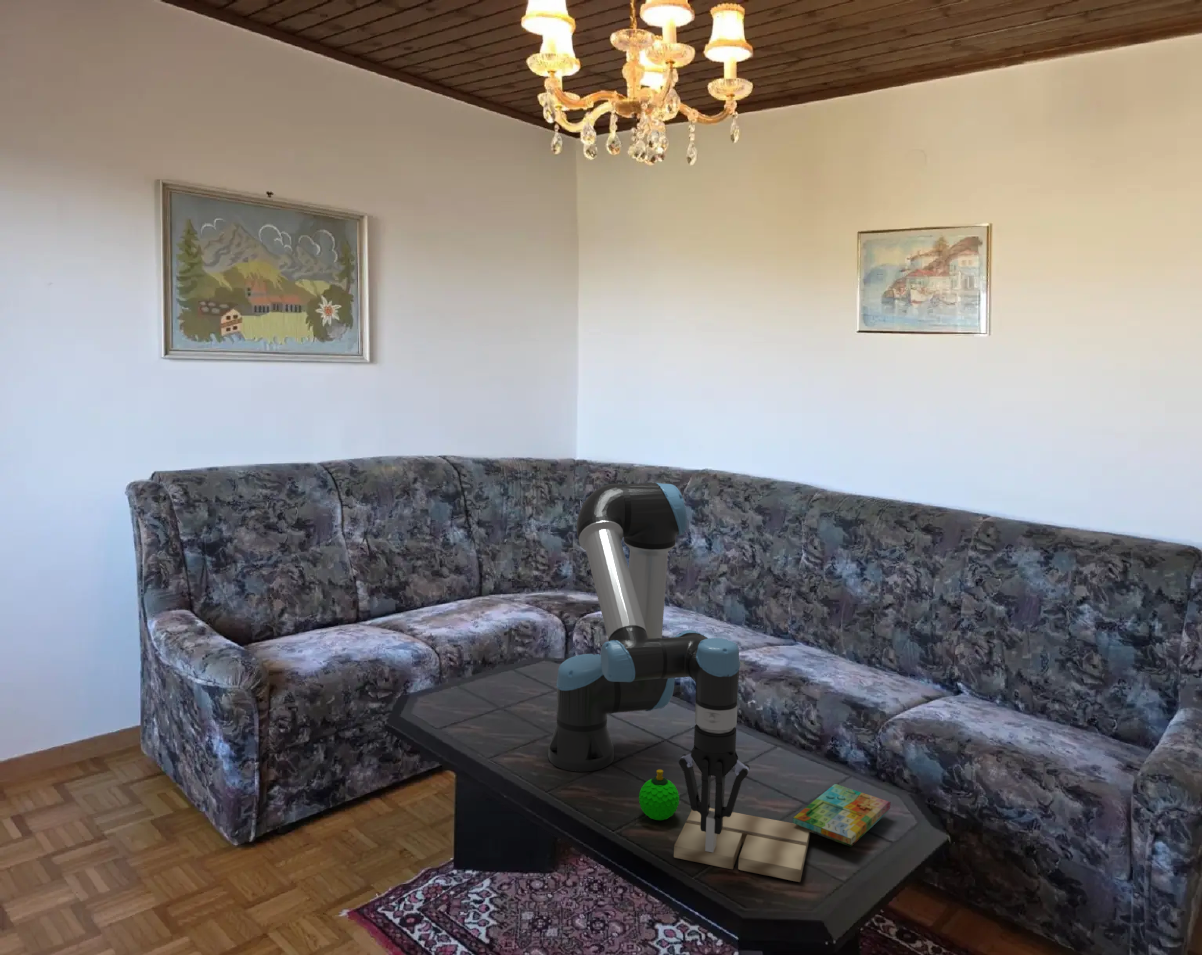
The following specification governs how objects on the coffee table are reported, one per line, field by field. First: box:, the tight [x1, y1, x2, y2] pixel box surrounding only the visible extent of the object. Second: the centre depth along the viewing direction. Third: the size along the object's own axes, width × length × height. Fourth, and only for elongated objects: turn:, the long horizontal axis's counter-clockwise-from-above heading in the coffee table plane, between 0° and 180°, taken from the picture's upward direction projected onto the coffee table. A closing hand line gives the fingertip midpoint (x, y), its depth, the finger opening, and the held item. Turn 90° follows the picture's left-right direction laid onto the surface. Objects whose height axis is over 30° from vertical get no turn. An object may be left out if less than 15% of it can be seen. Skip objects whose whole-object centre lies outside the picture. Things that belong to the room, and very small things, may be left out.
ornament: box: [638, 769, 680, 821], centre depth 177 cm, size 8×8×10 cm
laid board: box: [685, 807, 811, 854], centre depth 172 cm, size 23×7×2 cm, turn 71°
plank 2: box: [737, 835, 807, 883], centre depth 162 cm, size 11×9×2 cm
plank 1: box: [673, 822, 743, 870], centre depth 166 cm, size 11×9×2 cm
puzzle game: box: [792, 783, 892, 848], centre depth 175 cm, size 12×5×20 cm
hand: (710, 847), depth 162 cm, fingers closed
